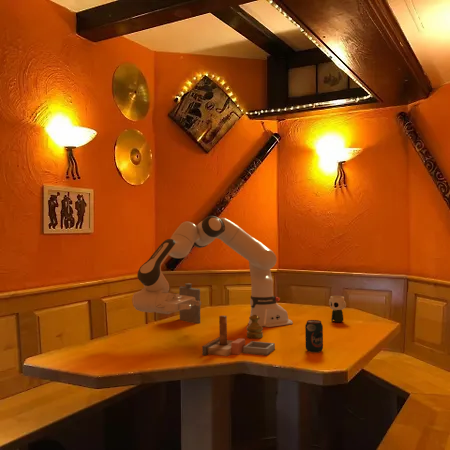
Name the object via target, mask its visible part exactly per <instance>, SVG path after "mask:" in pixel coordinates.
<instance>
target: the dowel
mask: <svg viewBox="0 0 450 450" xmlns="http://www.w3.org/2000/svg"><path fill="white" fill-rule="evenodd" d="M218 317H219V318H218V319H219V329H218V330H219V337H220V345H223V346H226V345H227V340H228V316H227V315H219V316H218Z"/></svg>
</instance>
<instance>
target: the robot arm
mask: <svg viewBox="0 0 450 450" xmlns="http://www.w3.org/2000/svg"><path fill="white" fill-rule="evenodd" d="M215 239H219V240H220V241H221V242H223V243H224V244H225V245H226V246H228V247H229V248H230V249H231V250H233V251H234V252H235V253H237V254H238V255H240V256H241V257H243V258H244V259H245V260H247V261H248V267H249V274H250V283H251V284H250V285H251V287H250V288H251V295H250V301H249V302H250V316H252V315H257V316H259V317H260V319H259V320H258V323H259V324H260V326H262V327H266V328H271V327H278V326H280V327H281V326H288V325H293V324H294V323H293V320H291V319H289V314H288V311H287V310H286V309H284V307H282V306H281V305H279V304H278V303H277V302H279V301H280V300H281V297H278V296H275V295H274V279H273V277H272V272H271V269H272V268H274V267H275V266H276V264H277V261H278V259H277V255H276V254H275V252H274V251H273V250H272V249H270V248H269V247H267V246H266V245H265V244H263V243H262V242H261V241H259V240H258V239H256V238H255V237H253V236H252V235H250V234H249V233H248V232H246V230H244V229H243V228H242V227H240V226H239V225H238V224H236V223H235V222H233V221H231V220H230V219H227V218H226V217H220V218H219V217H217V216H214V215H209V216H207V217H205V218H203V220H201V221H200V222H199V223H197V224H195V223H194V222H191V221H184V222H182V223H180V224H179V226H177V228H176V229H175V230H174V232H173V233H172V235H171V236H170V238H168V239H165V240H164V241H163V242H162V243H160V245H159V246H158V247H157V248H156V250H155V251H154V252H153V253H152V255H151V256H150V257H149V258H148V259H147V260H146V261H145V262H144V263H143V264H142V265H141V266H140V267H139V269H138V271H137V275H136V276H137V279H138V280H139V282H140V283H141V284H142V285H143V288H142V289H141V290H139V291H137V292H134V293H133V295H132V297H131V298H132V299H131V301H132V306H133V308H134V309H135V310H136V311H138V312H139V311H140V312H142V313H143V312H144V313H157V314H163V315H164V314H165V315H170V314H172V313H176V312H180V310H183V309H191V306H194V305H196V306H200V307H201V305H202V301H201V300H200V301H196V299H195V297H192V296H185V295H179V293H171V292H170V290H171V289H170V283H169V281H168V280H167V278H166V277H165V275H164V273H163V272H162V268H161V267H162V265H163V263H164V262H165V261H166V259H167V258H168V257H169V256H170V257H171V258H173V259H183V258H186V257H187V256H188V254H190V252H191V250H192V249H193V246H194V247H195V248H197V249H198V248H199V249H201V248H205V247H207V246H209V245H210V244H212V242H214V241H215ZM250 316H249V317H250ZM251 323H252V321H251V320H250V319H249V320H248V325H250V324H251Z"/></svg>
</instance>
